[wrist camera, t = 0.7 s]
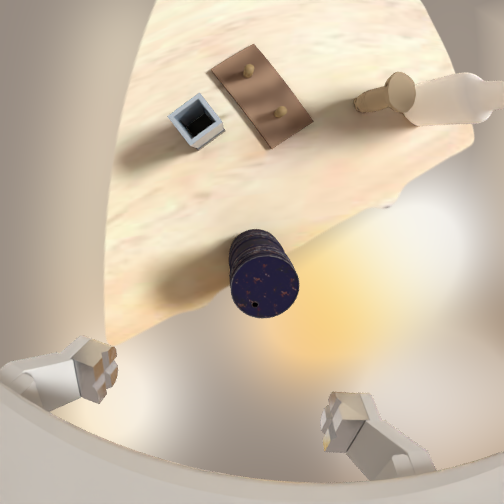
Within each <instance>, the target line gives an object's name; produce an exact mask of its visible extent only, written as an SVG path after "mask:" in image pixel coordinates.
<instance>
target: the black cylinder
mask: <svg viewBox="0 0 504 504" xmlns="http://www.w3.org/2000/svg"><path fill="white" fill-rule="evenodd" d="M229 266H230V274H229V277H230V288H231V295H232V299H233V301H234V303H235V304H236V306H237V307H238V308H239V309H240V310H241V311H242V312H243V313H245V314H247V315H249V316H252V317H255V318H270V317H274V316H277V315H280V314H281V313H283V312H285V311H286V310H287V309H288V308H290V306H291V305H292V304H293V303H294V301H295V300H296V298H297V295H298V292H299V278H298V275H297V273H296V271H295V269H294V267H293V265H292V263H291V261H290V259H289V258H288V256H287V255H286V254H285V252H284V250H283V248H282V246H281V245H280V243H279V242H278V241H277V240H276V238H275V237H274V236H273V235H272V234H270V233H269V232H267V231H264V230H260V229H252V230H248V231H245V232H243V233H241V234H240V235H238V236H237V237H236V238H235V240H234V241H233V243H232V245H231V247H230V252H229Z"/></svg>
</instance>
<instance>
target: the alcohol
mask: <svg viewBox="0 0 504 504" xmlns="http://www.w3.org/2000/svg"><path fill="white" fill-rule="evenodd" d="M415 90H416V97H415V102H414V105H413V106H412V108H411V109H410V110H409V111H408V112H404V113H403V114H404V115H405V117H406V118H407V119H408V120H409V121H410V122H411V123H413V124H414V125H416V126H432V125H450V124H477V123H480V122H483V121H485V120H487V119H488V117H489V116H490V115H491V113H492V111H494V110H499V109H504V81H483V80H482V79H481V78H480V77H478V76H476V75H475V74H472V73H464V72H462V73H457V74H453V75H449V76H445V77H441V78H437V79H433V80H429V81H426V82H422V83H419V84H415Z"/></svg>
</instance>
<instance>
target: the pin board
mask: <svg viewBox="0 0 504 504" xmlns="http://www.w3.org/2000/svg"><path fill="white" fill-rule="evenodd" d="M211 71H212V72H213V73H214V75H215V76H216V77H217V78H218V79H219V81H220V82H221V83H222V84H223V86H224V87H225V88H226V89H227V91H228V92H229V93H230V94H231V96H232V97H233V98H234V99H235V101H236V102H237V103H238V105H239V106H240V107H241V108H242V110H243V111H244V112H245V114H246V115H247V116H248V118H249V119H250V120H251V122H252V123H253V124H254V126H255V127H256V128H257V130H258V131H259V132H260V134H261V135H262V136H263V138H264V139H265V141H266V142H267V143H268V145H269V146H270V147H271V149H273V148H274V147H276V146H277V145H279V144H280V143H282V142H283V141H285V140H286V139H288V138H289V137H291V136H292V135H294V134H295V133H297V132H298V131H300V130H301V129H303V128H304V127H306V126H308V125H309V124H311V123H312V122H314V121H313V120H312V118H311V117H310V116H309V114H308V113H307V111H306V110H305V109H304V107H303V106H302V104H301V103H300V102H299V100H298V99H297V97H296V96H295V95H294V93H293V92H292V91H291V89H290V88H289V87H288V85H287V84H286V83H285V81H284V80H283V79H282V78H281V76H280V75H279V74H278V72H277V71H276V70H275V69H274V67H273V66H272V65H271V64H270V62H269V61H268V60H267V59H266V58H265V56H264V55H263V54H262V53H261V52H260V50H259V49H258V48H257V47H256V46H255V45H254V44H252V45H251V46H249V47H247V48H245V49H244V50H242V51H240V52H238V53H237V54H235V55H233V56H232V57H230V58H228V59H227V60H225V61H223V62H222V63H220V64H219V65H217V66H215V67H214V68H212V69H211Z"/></svg>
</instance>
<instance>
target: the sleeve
mask: <svg viewBox="0 0 504 504" xmlns="http://www.w3.org/2000/svg"><path fill="white" fill-rule="evenodd" d="M205 113H206V115H207V116H208V117H209V119H210V120H211V121H212V123H213V124H212V125H210V126H209V127H208V128H206V129H205V130H203V131H202V132H201V133H199V134H198V135H197V136H195V137H194V136H193V135H192V133H191V132H190V131H189V129H188V128H187V126H189V125H190V124H191V123H193V122H194V121H195V120H197V119H198V118H199V117H201V116H202V115H204V114H205ZM167 117H168V118H169V119H170V120H171V122H172V123H173V124H174V126H175V127H176V128H177V129H178V131H179V132H180V133H181V135H182V136H183V137H184V139H185V140H186V141H187V142H188V144H189V145H190V146H192V147H195V148H196V149H197V150H198V151H199V150H200V149H202V148H203V147H204V146H206V145H207V144H209V143H210V142H211V141H213V140H214V139H215V138H217V137H218V136H220V135H221V134H222V133H224V132H225V129H224V128H223V122H222V121H221V119H220V118H219V117H218V115H217V114H216V113H215V112H214V110H213V109H212V108H211V106H210V105H209V104H208V103H207V101H206V100H205V99H204V98H203V96H202V95H201V94H200V93H198V94H197V95H196V96H194V97H193V98H191V99H190V100H189V101H187V102H186V103H184V104H183V105H182V106H180V107H179V108H178V109H176V110H175V111H174V112H172V113H171V114H170V115H169V116H167Z"/></svg>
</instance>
